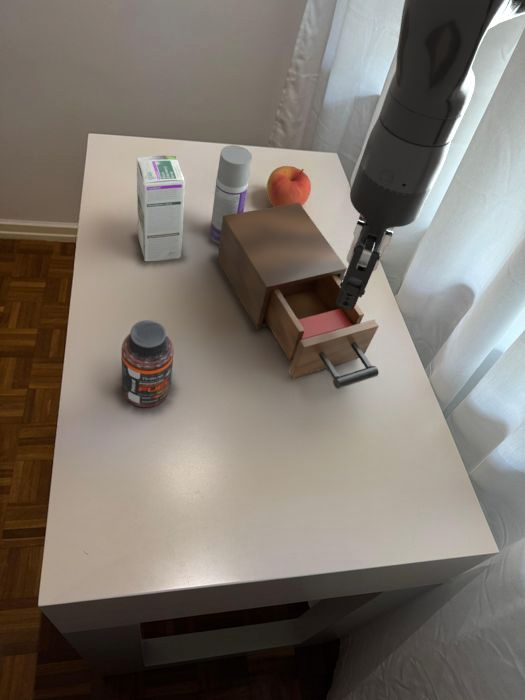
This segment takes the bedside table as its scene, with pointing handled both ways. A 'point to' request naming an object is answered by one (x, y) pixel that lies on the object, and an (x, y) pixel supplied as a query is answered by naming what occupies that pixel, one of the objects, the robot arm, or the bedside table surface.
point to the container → (230, 186)
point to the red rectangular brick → (324, 323)
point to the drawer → (326, 347)
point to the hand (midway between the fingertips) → (352, 282)
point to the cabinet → (273, 254)
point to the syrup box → (160, 207)
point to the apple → (288, 186)
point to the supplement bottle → (147, 364)
